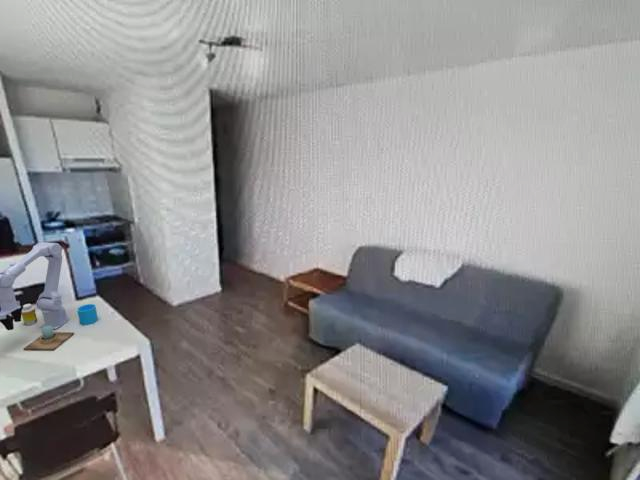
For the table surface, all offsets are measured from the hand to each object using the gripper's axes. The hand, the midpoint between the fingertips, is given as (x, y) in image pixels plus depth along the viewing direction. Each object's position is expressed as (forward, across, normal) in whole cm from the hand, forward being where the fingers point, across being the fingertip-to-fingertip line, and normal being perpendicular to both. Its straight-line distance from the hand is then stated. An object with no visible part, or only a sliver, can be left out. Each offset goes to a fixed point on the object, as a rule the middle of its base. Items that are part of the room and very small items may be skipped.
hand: (14, 325), depth 164 cm
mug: (+11, +17, -24) cm, 31 cm away
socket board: (+10, -1, -13) cm, 16 cm away
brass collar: (+10, -1, -13) cm, 16 cm away
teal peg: (+9, -1, -13) cm, 16 cm away
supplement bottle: (+11, +22, +3) cm, 25 cm away
